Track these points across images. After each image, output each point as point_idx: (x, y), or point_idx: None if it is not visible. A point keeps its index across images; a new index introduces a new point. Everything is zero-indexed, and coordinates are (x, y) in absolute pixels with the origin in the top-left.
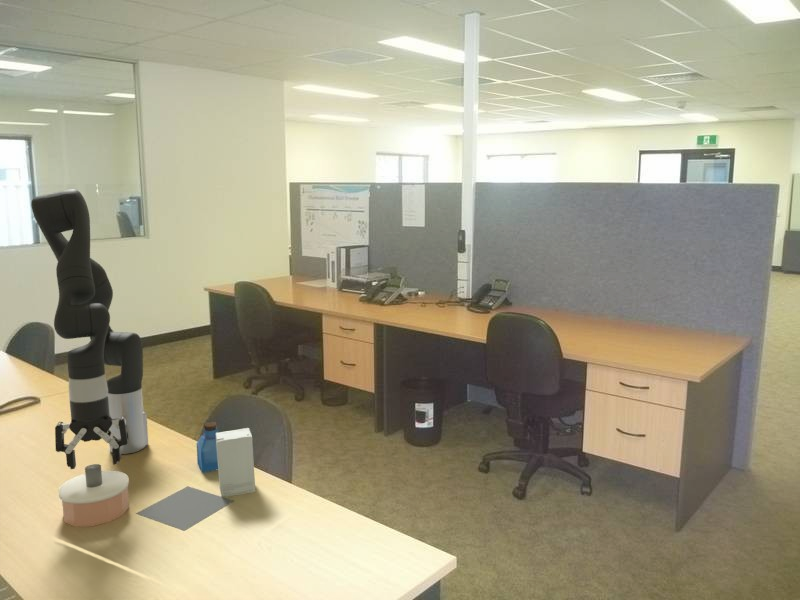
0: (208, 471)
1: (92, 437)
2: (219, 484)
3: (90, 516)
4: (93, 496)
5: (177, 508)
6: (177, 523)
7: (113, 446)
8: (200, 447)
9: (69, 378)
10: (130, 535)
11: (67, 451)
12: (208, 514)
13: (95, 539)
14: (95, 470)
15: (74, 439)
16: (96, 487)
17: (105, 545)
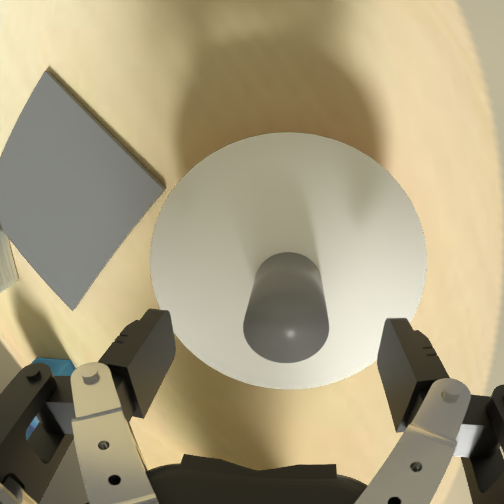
0: (58, 362)
1: (243, 492)
2: (8, 278)
3: None
4: (271, 149)
5: (65, 191)
6: (56, 106)
7: (105, 378)
8: None
9: None
10: (166, 70)
11: (456, 388)
12: (9, 145)
13: (265, 67)
14: (268, 293)
15: (433, 476)
16: (273, 246)
17: (229, 28)
